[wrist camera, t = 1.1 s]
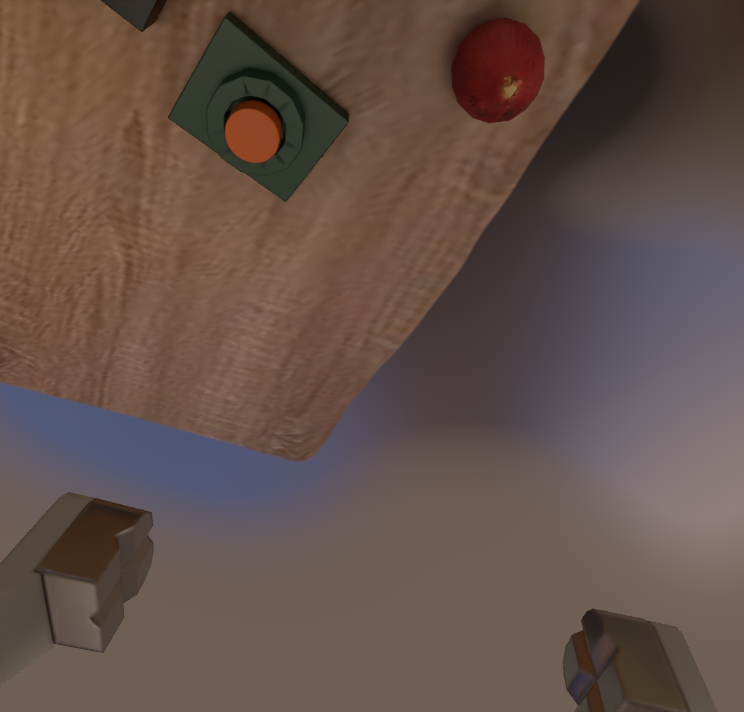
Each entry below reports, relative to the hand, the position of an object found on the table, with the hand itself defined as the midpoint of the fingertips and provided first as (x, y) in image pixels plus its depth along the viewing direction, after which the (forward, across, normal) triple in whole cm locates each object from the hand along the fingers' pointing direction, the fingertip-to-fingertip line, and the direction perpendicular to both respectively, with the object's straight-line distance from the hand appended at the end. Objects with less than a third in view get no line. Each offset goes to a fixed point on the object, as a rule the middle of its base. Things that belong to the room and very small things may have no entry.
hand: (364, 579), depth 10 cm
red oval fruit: (+36, -2, -10) cm, 38 cm away
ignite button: (+32, +12, -3) cm, 34 cm away
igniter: (+35, +13, -3) cm, 37 cm away
